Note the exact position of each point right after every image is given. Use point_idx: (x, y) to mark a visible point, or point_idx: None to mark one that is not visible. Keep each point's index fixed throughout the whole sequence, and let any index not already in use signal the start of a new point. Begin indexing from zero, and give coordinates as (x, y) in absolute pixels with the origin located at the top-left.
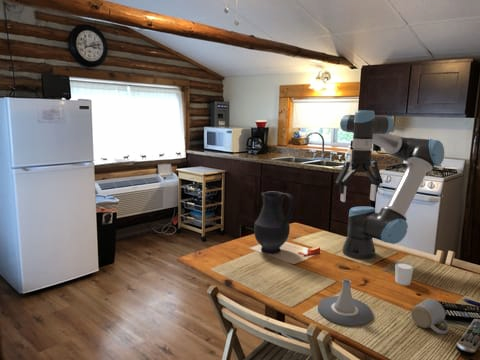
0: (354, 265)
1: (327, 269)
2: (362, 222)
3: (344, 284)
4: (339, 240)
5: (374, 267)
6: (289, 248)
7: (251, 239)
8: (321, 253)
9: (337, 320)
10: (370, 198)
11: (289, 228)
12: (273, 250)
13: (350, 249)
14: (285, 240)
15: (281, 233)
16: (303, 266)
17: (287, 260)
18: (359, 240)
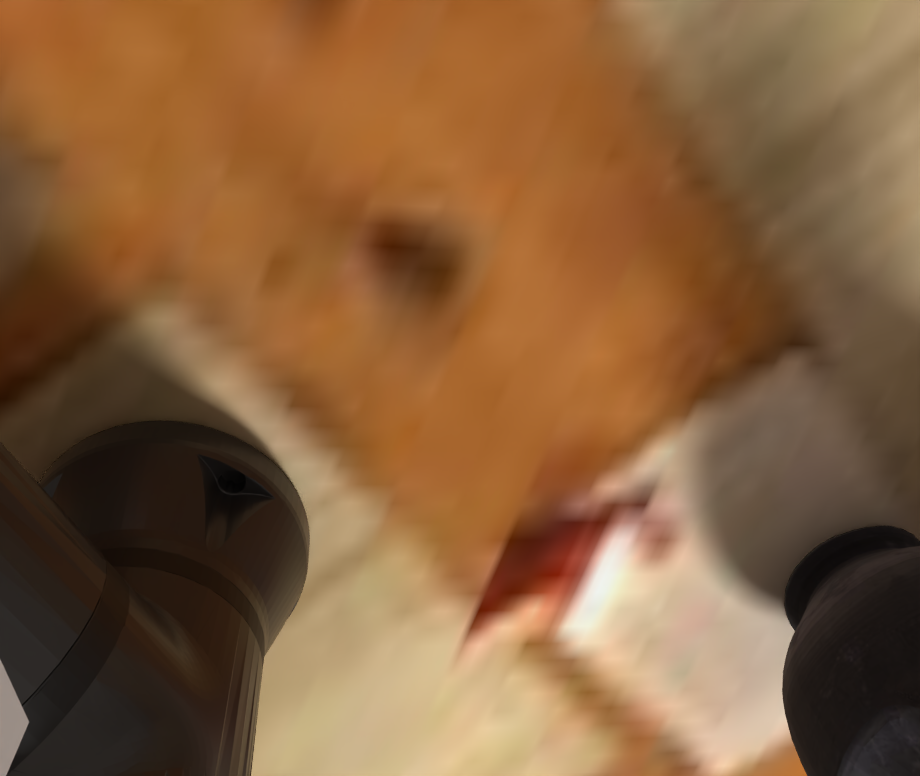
0: (303, 300)
1: (577, 231)
2: (129, 675)
3: None
4: None
5: (127, 249)
6: (702, 621)
7: None
8: (494, 536)
9: None
10: (4, 730)
11: (841, 705)
12: (876, 548)
13: (270, 512)
14: (837, 600)
15: None
16: (747, 299)
17: (817, 414)
18: (181, 551)
